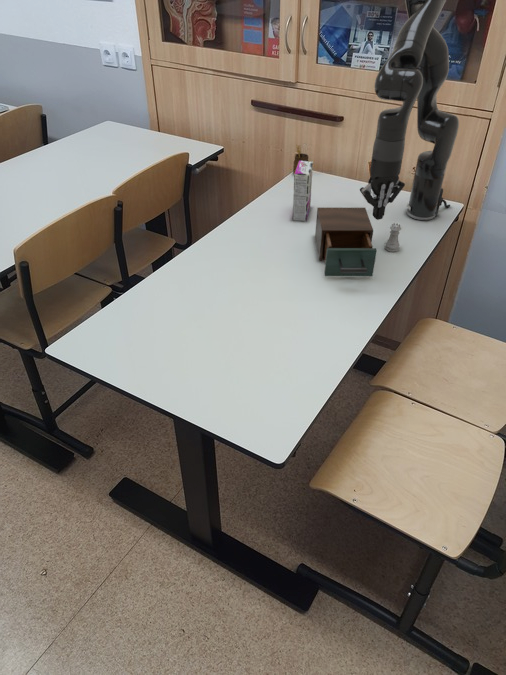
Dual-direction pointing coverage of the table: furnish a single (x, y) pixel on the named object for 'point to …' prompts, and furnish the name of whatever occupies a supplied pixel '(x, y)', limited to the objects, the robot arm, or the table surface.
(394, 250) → the rook chess piece
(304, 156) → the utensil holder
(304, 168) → the candy bar box
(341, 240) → the drawer
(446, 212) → the table surface
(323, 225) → the cabinet
